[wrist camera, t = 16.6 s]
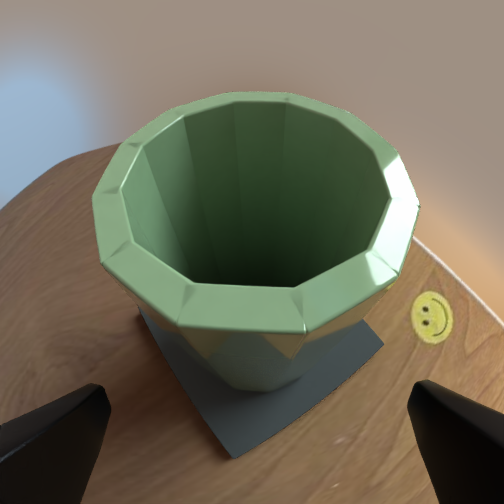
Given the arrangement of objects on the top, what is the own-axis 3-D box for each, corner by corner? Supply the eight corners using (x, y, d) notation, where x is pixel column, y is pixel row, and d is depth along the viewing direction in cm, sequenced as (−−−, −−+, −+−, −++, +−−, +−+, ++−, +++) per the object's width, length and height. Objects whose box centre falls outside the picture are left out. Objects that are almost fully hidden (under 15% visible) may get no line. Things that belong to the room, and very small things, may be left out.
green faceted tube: (277, 415, 12) (330, 423, 3) (171, 344, 14) (45, 210, 5) (340, 310, 15) (433, 149, 6) (241, 255, 17) (224, 76, 8)
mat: (379, 347, 15) (384, 344, 14) (234, 457, 12) (233, 459, 11) (275, 231, 19) (276, 223, 18) (142, 311, 16) (137, 306, 15)
